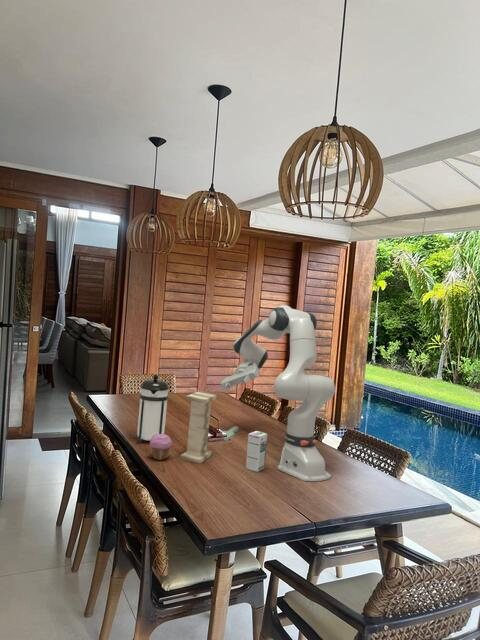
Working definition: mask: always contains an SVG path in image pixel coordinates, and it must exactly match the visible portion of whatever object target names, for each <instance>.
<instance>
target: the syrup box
mask: <svg viewBox="0 0 480 640" xmlns="http://www.w3.org/2000/svg"><path fill="white" fill-rule="evenodd" d="M267 442H268V433H266V432H263V431H258V430H255V431H252V432H250V433H248V435H247V446H246V447H247V449H246V450H247V451H246V462H245V469H246V470H250V471H253V472H257V473H259V472H261V470H264V469H265V467H266V454H267V445H268V444H267Z"/></svg>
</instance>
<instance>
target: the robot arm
mask: <svg viewBox="0 0 480 640" xmlns="http://www.w3.org/2000/svg"><path fill="white" fill-rule="evenodd" d="M317 323H318V322H317V318H316V316H315V314H313V313H311V312H309V311H302V310H300V309H295V308H292V307H291V306H289V305H286V304H281V305H279V306H277V307H274V308H273V309H272V310H271V311H270V314H269V316H268V318H267V319H263V320H262V319H259V320H258V321H256V322H255V323H254V324H253V325H252V326H250V327H249V328H248V329H247V330H246V331H245V332H244V333H243V334H241V336H239V337H237V339H235V341H234V342H233V350H234V353H236V354H238V355H239V356H241V357H243V360H242V361H241V362H240V364H239V365H238V366H237V367H236V368H235V371H234V374H232V375H230V376H229V375H228V376H227V377H225V378H224V379H223V380H222V381H221V382H220V386H221V388H222V389H223V390H230V389H231V388H232V387H236V386H237V385H241V384H243V385H244V384H246V383H247V382H249V381H253V380H254V379H257V378H258V377H259V376H260V375H261V368H262V367H263V366H264V364H265V363H266V361H267V360H268V359H269V355H268V353H269V352H268V351H267V349H265V348H264V347H262V345H259V344H258V343H257V342H255V341H254V340H253V339H252V338H253V337H254V336H261V337H263V338H266V339H269V340H274V341H275V340H280V339H281V338H283V336H284V335H285V334H289V361H288V364H287V366H286V368H285V369H284V370H283V371H282V372H281V373H280V374H278V376H276V377H275V379H274V382H273V391H274V393H275V395H276V396H277V398H280V399H284V400H287V401H301V404H300V405H299V406H298V407H297V408H294V409H292V410H291V411H290V412H289V414H288V415H287V424H286V425H287V426H286V431H285V434H284V445H283V447H282V452H281V457H280V460H279V465H278V466H277V467H276V469H277V470H279V471H281V472H283V473H285V474H287V475H290V476H292V477H295V478H297V479H299V480H301V481H304V482H320V481H326V480H329V479H330V478H331V474H330V473H329V472H328V471H326V461H325V459H324V456H322V455H321V453H320V452H319V450H318V449H317V447H316V444H317V443H318V439H317V440H316V439H315V435H314V432H315V424H316V419H317V416H318V413H319V412H320V410H321V409H322V407H323V406H325V404H326V403H327V402H329V401H331V400H332V399H333V397H334V396H335V392H336V386H335V385H336V384H335V382H334V381H333V379H332V378H331V377H328V376H324V375H321V374H311V373H310V374H309V373H308V374H306V373H305V368H308V367H310V366H311V365H312V366H313V364H315V362H316V361H317V354H318V353H317V337H316V329H317Z"/></svg>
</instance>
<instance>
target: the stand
mask: <svg viewBox="0 0 480 640" xmlns="http://www.w3.org/2000/svg"><path fill="white" fill-rule="evenodd" d="M218 395H219V394H216V393H211V392H205V391H199V390H198V391H196V392H193V393H191V394H187V395H185V396H184V397H185V401H189V402H191V403H190V414H189V422H188V423H189V424H188V437H187V445H186V451H185V452H184V453H181V454H180V455H179V460H182V461H186V462H190V463H197V464H202V463H203V462H204V461H205V460H207V459H209V457H211V456H213V450H208V441H209V430H210V421H211V420H210V418H211V409H212V401H214V400H216V399H218Z"/></svg>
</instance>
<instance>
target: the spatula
mask: <svg viewBox="0 0 480 640" xmlns="http://www.w3.org/2000/svg"><path fill="white" fill-rule="evenodd" d="M238 431H239V427H238V426H233V427H231V428H229V430H222V431H221V432H224V433H226V434H227V437H224V440H223V441H226V442H228V441H230V440H231V439H232V438H234V437H235V433H237V432H238ZM229 439H230V440H229Z"/></svg>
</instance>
